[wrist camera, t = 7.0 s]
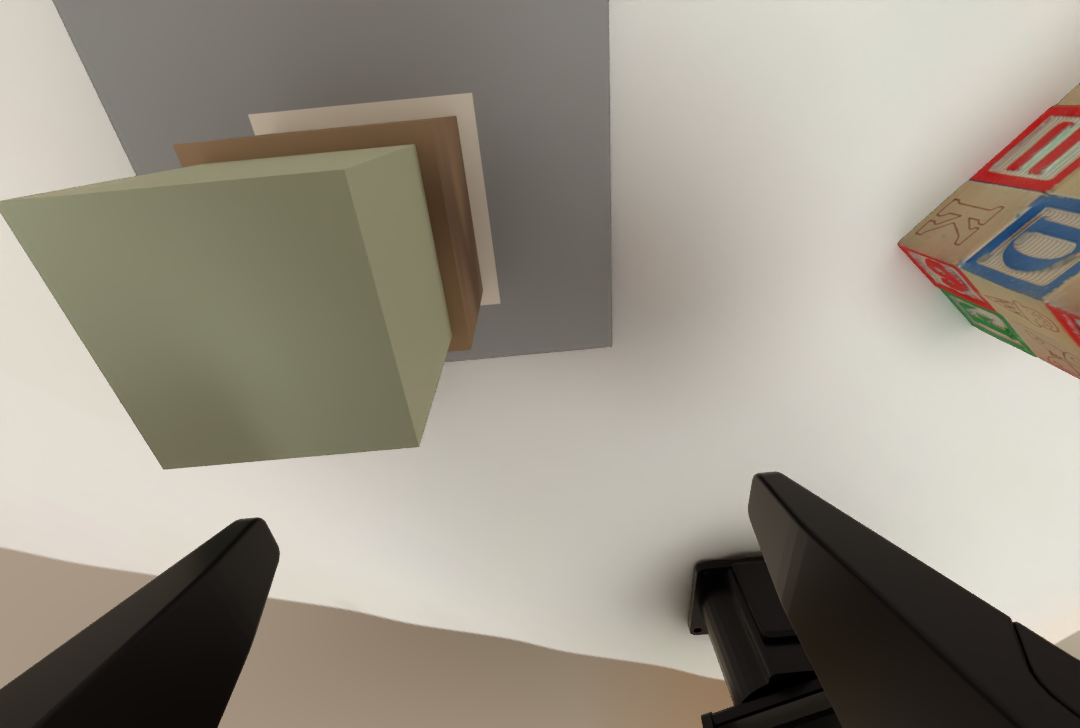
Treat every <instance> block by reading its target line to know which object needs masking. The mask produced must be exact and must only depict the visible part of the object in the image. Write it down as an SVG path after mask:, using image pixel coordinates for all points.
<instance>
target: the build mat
mask: <svg viewBox="0 0 1080 728" xmlns="http://www.w3.org/2000/svg"><path fill="white" fill-rule="evenodd" d="M53 3H54V5H55V7H56V9H57V11H58V13H59V15H60V17H61V19H62V21H63V23H64V26H65V28H66V30H67V32H68V34H69V36H70V38H71V40H72V42H73V44H74V46H75V49H76V51H77V53H78V55H79V57H80V59H81V61H82V63H83V65H84V67H85V69H86V71H87V74H88V76H89V78H90V80H91V82H92V84H93V86H94V88H95V90H96V92H97V94H98V97H99V99H100V101H101V103H102V105H103V107H104V109H105V111H106V113H107V115H108V117H109V119H110V122H111V124H112V126H113V128H114V130H115V132H116V134H117V136H118V138H119V140H120V142H121V145H122V147H123V149H124V151H125V153H126V155H127V157H128V159H129V161H130V163H131V165H132V167H133V170H134V172H135V174H136V176H140V175H145V174H151V173H156V172H162V171H167V170H173V169H178V168H182V166H181V164H180V161H179V159H178V157H177V154H176V152H175V150H174V147H173V145H175V144H184V143H193V142H202V141H211V140H220V139H229V138H238V137H247V136H256V135H265V134H274V133H285V132H295V131H305V130H315V129H326V128H336V127H346V126H357V125H367V124H377V123H388V122H398V121H408V120H418V119H429V118H439V117H449V116H457V123H458V129H459V136H460V143H461V149H462V156H463V162H464V169H465V175H466V182H467V188H468V195H469V201H470V208H471V214H472V221H473V228H474V234H475V241H476V247H477V254H478V260H479V267H480V273H481V280H482V286H483V294H482V299H481V304H480V309H479V314H478V318H477V323H476V328H475V333H474V338H473V343H472V348H471V350H466V351H455V352H447V355H446V358H445V361H444V362H451V361H462V360H473V359H484V358H494V357H505V356H516V355H527V354H538V353H549V352H559V351H570V350H581V349H592V348H603V347H612V296H611V189H610V81H609V0H53Z"/></svg>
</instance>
